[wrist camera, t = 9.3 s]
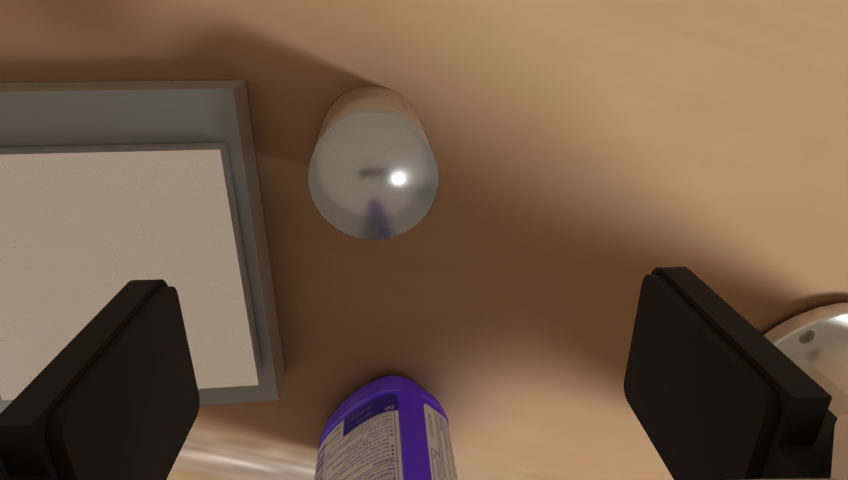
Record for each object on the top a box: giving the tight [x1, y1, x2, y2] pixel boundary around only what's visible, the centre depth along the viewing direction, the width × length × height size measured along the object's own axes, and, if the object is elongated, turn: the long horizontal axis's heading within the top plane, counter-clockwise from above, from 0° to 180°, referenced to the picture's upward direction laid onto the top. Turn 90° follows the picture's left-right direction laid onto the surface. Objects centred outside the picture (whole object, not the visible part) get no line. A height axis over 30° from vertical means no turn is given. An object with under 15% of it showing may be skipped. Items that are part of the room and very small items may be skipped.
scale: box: [0, 80, 285, 413], centre depth 23 cm, size 17×15×3 cm
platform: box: [0, 143, 262, 400], centre depth 22 cm, size 11×11×1 cm
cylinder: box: [308, 86, 439, 240], centre depth 21 cm, size 4×4×6 cm
